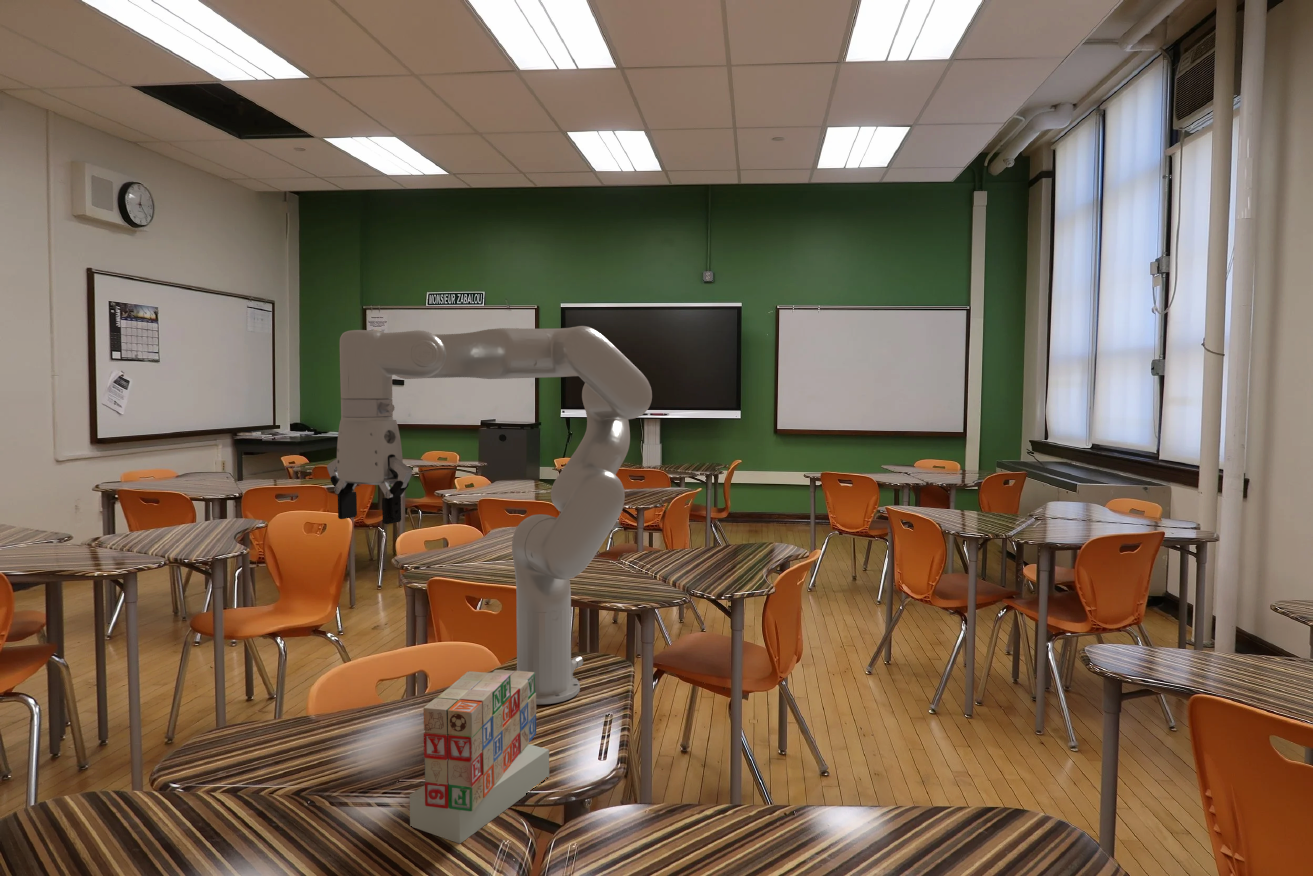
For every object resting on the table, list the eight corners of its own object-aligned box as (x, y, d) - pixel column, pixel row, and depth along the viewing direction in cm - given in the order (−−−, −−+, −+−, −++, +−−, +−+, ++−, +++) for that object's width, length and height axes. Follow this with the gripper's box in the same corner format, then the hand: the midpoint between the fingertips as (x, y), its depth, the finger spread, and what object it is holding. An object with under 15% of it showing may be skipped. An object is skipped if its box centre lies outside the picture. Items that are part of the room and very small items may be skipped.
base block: (503, 764, 113) (503, 737, 112) (549, 777, 109) (549, 749, 109) (410, 826, 97) (409, 794, 96) (459, 843, 93) (459, 811, 93)
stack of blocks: (496, 731, 115) (495, 648, 114) (537, 735, 113) (536, 651, 112) (424, 807, 94) (422, 706, 93) (472, 812, 92) (471, 710, 92)
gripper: (426, 411, 121) (428, 521, 122) (347, 409, 129) (350, 513, 130) (388, 412, 114) (391, 528, 115) (308, 410, 122) (311, 519, 123)
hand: (369, 520), depth 123 cm, fingers open, 9 cm apart
